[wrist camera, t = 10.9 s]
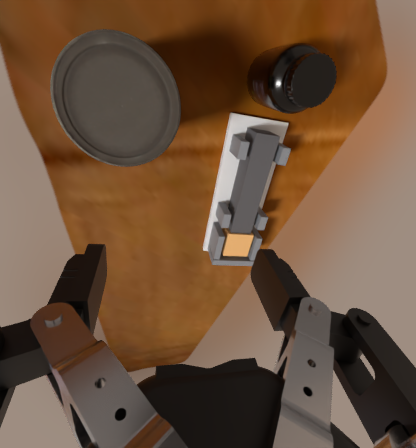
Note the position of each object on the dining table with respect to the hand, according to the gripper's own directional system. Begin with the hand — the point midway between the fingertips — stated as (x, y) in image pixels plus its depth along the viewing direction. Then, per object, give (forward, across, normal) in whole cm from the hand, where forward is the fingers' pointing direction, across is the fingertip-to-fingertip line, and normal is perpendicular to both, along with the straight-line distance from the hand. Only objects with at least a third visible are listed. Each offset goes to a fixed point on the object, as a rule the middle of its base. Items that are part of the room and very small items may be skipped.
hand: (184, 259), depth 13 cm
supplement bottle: (+28, -13, -10) cm, 32 cm away
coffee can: (+28, +5, -5) cm, 29 cm away
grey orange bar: (+27, -13, +7) cm, 30 cm away
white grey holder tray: (+27, -13, +7) cm, 31 cm away
